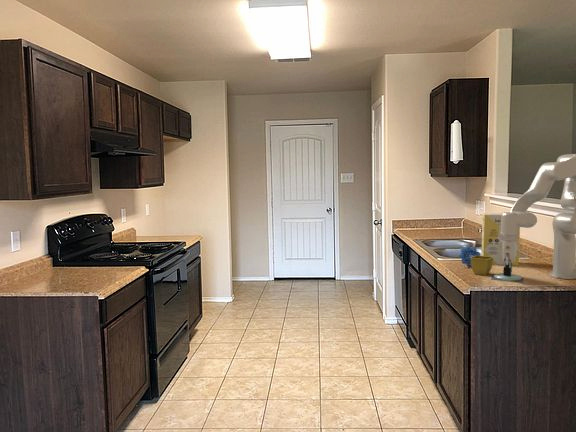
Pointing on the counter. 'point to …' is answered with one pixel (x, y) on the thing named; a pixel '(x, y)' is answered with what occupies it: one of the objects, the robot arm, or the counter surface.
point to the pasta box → (495, 239)
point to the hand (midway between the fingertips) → (507, 273)
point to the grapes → (468, 255)
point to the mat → (510, 281)
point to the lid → (507, 277)
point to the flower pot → (481, 264)
